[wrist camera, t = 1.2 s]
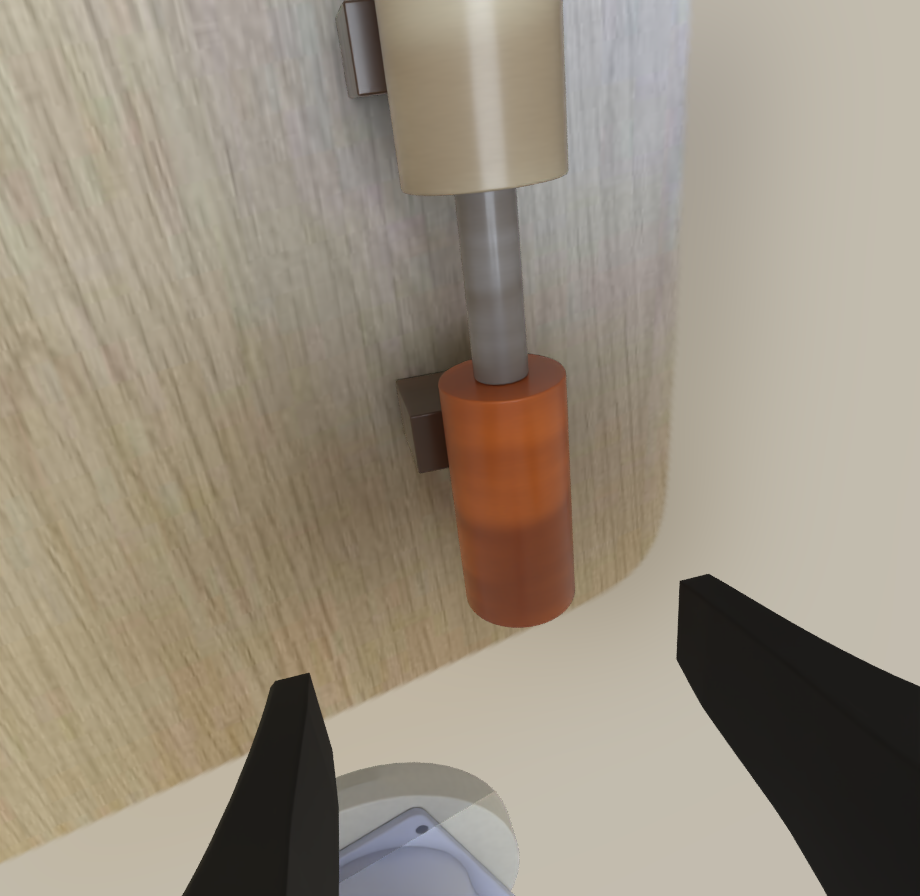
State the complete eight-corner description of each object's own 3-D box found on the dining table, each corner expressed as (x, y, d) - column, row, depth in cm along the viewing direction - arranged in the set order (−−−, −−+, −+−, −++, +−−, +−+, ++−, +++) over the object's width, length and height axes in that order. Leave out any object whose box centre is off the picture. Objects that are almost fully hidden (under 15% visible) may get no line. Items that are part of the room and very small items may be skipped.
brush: (557, 543, 19) (603, 616, 17) (448, 568, 19) (475, 647, 16) (521, -131, 12) (588, -200, 10) (346, -117, 12) (364, -186, 9)
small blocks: (537, 405, 20) (569, 443, 18) (403, 431, 19) (418, 474, 17) (511, -3, 15) (550, -22, 13) (334, 15, 15) (343, -2, 13)
